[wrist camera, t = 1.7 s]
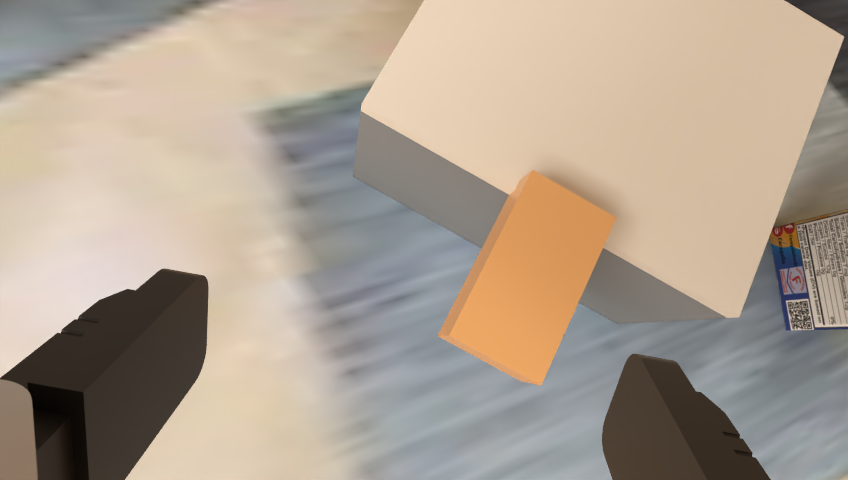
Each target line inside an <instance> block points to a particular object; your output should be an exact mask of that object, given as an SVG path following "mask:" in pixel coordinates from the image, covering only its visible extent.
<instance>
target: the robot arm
mask: <svg viewBox="0 0 848 480" xmlns="http://www.w3.org/2000/svg"><path fill="white" fill-rule="evenodd" d="M207 316H208V281H207V279H206V277H205V276H203V275H198V274H192V273H186V272H181V271H175V270H170V269H161V270H160V271H158V272H157V273H156V274H155V275H153V276H152V277H151V278H150V279H149V280H148V281H146V282H145V283H144V284H143V285H142V286H140V287H139V288H138V289H137V290H136V291H135V290H130V289H126V290H124V291H121V292H119V293H116V294H114V295H111V296H109V297H106V298H104V299H101V300H99V301H98V302H96V303H95V304H94V305H92V306H91V307H90V308H89V309H87V310H86V311H85V312H84V313H82V314H81V315H80V316H79V318H78V320H73V321H72V322H71V323H70V324H68V325H67V326H66V327H64V328H63V329H62V332H61V334H60V333H57V334H56V335H54V336H53V337H52V338H50V339H49V340H48V341H47V342H45V343H44V344H43V345H42V346H40V347H39V348H38V349H37V350H35V351H34V352H33V353H31V354H30V355H29V356H28V357H26V358H25V359H24V360H23V361H21V362H20V363H19V364H17V365H16V366H15V367H14V368H12V369H11V370H10V371H9V372H7V373H6V374H5V375H3V376H2V377H1V378H0V480H125V479H126V477H127V476H128V474H129V473H130V472H131V470H132V469H133V467H134V466H135V465H136V463H137V462H138V461H139V459H140V458H141V456H142V455H143V454H144V452H145V451H146V449H147V448H148V447H149V445H150V444H151V442H152V441H153V440H154V438H155V437H156V436H157V434H158V433H159V431H160V430H161V429H162V427H163V426H164V424H165V423H166V422H167V420H168V419H169V417H170V416H171V415H172V413H173V412H174V411H175V409H176V408H177V406H178V405H179V404H180V402H181V401H182V399H183V398H184V397H185V395H186V394H187V392H188V391H189V390H190V388H191V387H192V385H193V384H194V383H195V381H196V380H197V378H198V376H199V374H200V372H201V369H202V366H203V363H204V359H205V355H206V346H207ZM739 436H740V434H739V433H738V431H737V430H736V428H735V427H734V425H733V424H732V423H731V421H730V420H729V418H728V417H727V415H726V414H725V413H724V412H723V411H722V410H721V409H720V408H719V407H717V406H716V405H715V404H714V403H713V402H712V401H711V400H709V399H708V398H707V397H706V396H705V395H704V394H702V393H701V392H696V391H695V389H694V388H693V386H692V385H691V383H690V382H689V380H688V379H687V377H686V375H685V374H684V372H683V371H682V369H681V368H680V366H679V365H678V363H677V362H675V361H673V360H667V359H662V358H656V357H651V356H645V355H639V354H632V355H631V356H630V357H629V358H628V359H627V361H626V363H625V365H624V368H623V371H622V374H621V376H620V379H619V382H618V385H617V387H616V390H615V393H614V396H613V398H612V401H611V404H610V407H609V409H608V412H607V415H606V418H605V421H604V425H603V433H602V445H603V452H604V456H605V459H606V461H607V464H608V467H609V470H610V473H611V476H612V479H613V480H771V479H770V478H769V477H768V475H767V474H766V472H765V471H764V469H763V468H762V466H761V465H760V463H759V462H758V460H757V459H756V458H754V457H752V452H751V450H750V449H749V447H748V446H747V444H746V443H745V442H744V440H743V439H740V438H739Z"/></svg>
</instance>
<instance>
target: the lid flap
mask: <svg viewBox="0 0 848 480" xmlns="http://www.w3.org/2000/svg"><path fill="white" fill-rule="evenodd" d="M843 39H844V36H842V35H840V34H839V33H837V32H836V31H834V30H832V29H831V28H829V27H827V26H826V25H824V24H822V23H821V22H819V21H817V20H816V19H814V18H812V17H811V16H809V15H807V14H806V13H804V12H803V11H801V10H799V9H798V8H796V7H794V6H793V5H791V4H789V3H788V2H786V1H784V0H424V2H423V3H422V5H421V7H420V8H419V10H418V12H417V13H416V15H415V17H414V18H413V20H412V21H411V23H410V25H409V26H408V28H407V30H406V31H405V33H404V35H403V36H402V38H401V40H400V41H399V43H398V45H397V46H396V48H395V50H394V51H393V53H392V55H391V56H390V58H389V59H388V61H387V63H386V64H385V66H384V68H383V69H382V71H381V73H380V74H379V76H378V78H377V79H376V81H375V83H374V84H373V86H372V88H371V89H370V91H369V93H368V94H367V96H366V97H365V99H364V101H363V102H362V106H361V111H362V112H363V113H365V114H367V115H369V116H370V117H372V118H374V119H376V120H377V121H379V122H381V123H383V124H385V125H386V126H388V127H390V128H392V129H393V130H395V131H397V132H399V133H400V134H402V135H404V136H406V137H408V138H409V139H411V140H413V141H415V142H416V143H418V144H420V145H422V146H423V147H425V148H427V149H429V150H431V151H432V152H434V153H436V154H438V155H439V156H441V157H443V158H445V159H446V160H448V161H450V162H452V163H454V164H455V165H457V166H459V167H461V168H462V169H464V170H466V171H468V172H470V173H471V174H473V175H475V176H477V177H478V178H480V179H482V180H484V181H485V182H487V183H489V184H491V185H493V186H494V187H496V188H498V189H500V190H501V191H503V192H505V193H507V194H508V195H509V196H508V198H507V200H506V202H505V204H504V206H503V208H502V210H501V212H500V214H499V216H498V218H497V220H496V222H495V224H494V226H493V227H492V229H491V231H490V233H489V235H488V237H487V239H486V241H485V243H484V245H483V247H482V249H481V251H480V253H479V255H478V257H477V259H476V261H475V263H474V265H473V267H472V269H471V271H470V273H469V275H468V277H467V279H466V281H465V283H464V285H463V287H462V289H461V291H460V292H459V294H458V296H457V298H456V300H455V302H454V304H453V306H452V308H451V310H450V312H449V314H448V316H447V318H446V320H445V322H444V324H443V326H442V328H441V330H440V332H439V334H438V336H439V337H440V338H442V339H444V340H446V341H448V342H450V343H451V344H453V345H455V346H457V347H459V348H461V349H462V350H464V351H466V352H468V353H470V354H472V355H474V356H475V357H477V358H479V359H481V360H483V361H485V362H486V363H488V364H490V365H492V366H494V367H496V368H497V369H499V370H501V371H503V372H505V373H507V374H508V375H510V376H512V377H514V378H516V379H518V380H519V381H523V382H527V383H532V384H536V385H541V384H542V382H543V380H544V378H545V375H546V373H547V371H548V369H549V367H550V364H551V362H552V360H553V358H554V355H555V353H556V351H557V349H558V347H559V344H560V342H561V340H562V338H563V336H564V333H565V331H566V329H567V327H568V324H569V322H570V320H571V318H572V316H573V313H574V311H575V309H576V307H577V304H578V302H579V300H580V298H581V296H582V293H583V291H584V289H585V287H586V285H587V282H588V280H589V278H590V276H591V273H592V271H593V269H594V267H595V265H596V262H597V260H598V258H599V256H600V253H601V251H602V249H603V248H604V249H606V250H608V251H609V252H611V253H613V254H615V255H616V256H618V257H620V258H622V259H624V260H625V261H627V262H629V263H631V264H632V265H634V266H636V267H638V268H639V269H641V270H643V271H645V272H647V273H648V274H650V275H652V276H654V277H655V278H657V279H659V280H661V281H663V282H664V283H666V284H668V285H670V286H671V287H673V288H675V289H677V290H678V291H680V292H682V293H684V294H686V295H687V296H689V297H691V298H693V299H694V300H696V301H698V302H700V303H701V304H703V305H705V306H707V307H709V308H710V309H712V310H714V311H716V312H717V313H719V314H721V315H723V316H724V317H726V318H733V317H739V316H740V314H741V311H742V308H743V306H744V303H745V300H746V298H747V295H748V292H749V290H750V287H751V284H752V282H753V279H754V276H755V274H756V271H757V268H758V266H759V263H760V260H761V258H762V255H763V252H764V250H765V247H766V244H767V242H768V239H769V236H770V234H771V231H772V228H773V226H774V223H775V220H776V218H777V215H778V212H779V210H780V207H781V204H782V202H783V199H784V196H785V194H786V191H787V188H788V186H789V183H790V180H791V178H792V175H793V172H794V170H795V167H796V164H797V162H798V159H799V156H800V154H801V151H802V148H803V146H804V143H805V140H806V138H807V135H808V132H809V130H810V127H811V124H812V122H813V119H814V116H815V114H816V111H817V108H818V106H819V103H820V100H821V98H822V95H823V92H824V90H825V87H826V84H827V82H828V79H829V76H830V74H831V71H832V68H833V66H834V63H835V60H836V57H837V55H838V52H839V49H840V47H841V44H842V41H843Z"/></svg>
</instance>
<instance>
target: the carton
mask: <svg viewBox="0 0 848 480" xmlns="http://www.w3.org/2000/svg"><path fill="white" fill-rule="evenodd" d="M353 177H355V178H357V179H359V180H360V181H362V182H364V183H366V184H367V185H369V186H371V187H373V188H375V189H376V190H378V191H380V192H382V193H384V194H385V195H387V196H389V197H391V198H393V199H394V200H396V201H398V202H400V203H402V204H403V205H405V206H407V207H409V208H411V209H412V210H414V211H416V212H418V213H420V214H421V215H423V216H425V217H427V218H429V219H430V220H432V221H434V222H436V223H438V224H439V225H441V226H443V227H445V228H447V229H448V230H450V231H452V232H454V233H455V234H457V235H459V236H461V237H463V238H464V239H466V240H468V241H470V242H472V243H473V244H475V245H477V246H479V247H481V248H482V247H483V245H484V243H485V241H486V239H487V237H488V235H489V233H490V231H491V229H492V227H493V226H494V224H495V222H496V220H497V218H498V216H499V214H500V212H501V210H502V208H503V206H504V204H505V202H506V200H507V198H508V196H509V195H508V194H507V193H505V192H503V191H501V190H500V189H498V188H496V187H494V186H493V185H491V184H489V183H487V182H485V181H484V180H482V179H480V178H478V177H477V176H475V175H473V174H471V173H470V172H468V171H466V170H464V169H462V168H461V167H459V166H457V165H455V164H454V163H452V162H450V161H448V160H446V159H445V158H443V157H441V156H439V155H438V154H436V153H434V152H432V151H431V150H429V149H427V148H425V147H423V146H422V145H420V144H418V143H416V142H415V141H413V140H411V139H409V138H408V137H406V136H404V135H402V134H400V133H399V132H397V131H395V130H393V129H392V128H390V127H388V126H386V125H385V124H383V123H381V122H379V121H377V120H376V119H374V118H372V117H370V116H369V115H367V114H365V113H363V112H362V111H361V114H360V122H359V130H358V138H357V146H356V154H355V163H354V171H353ZM579 303H581V304H583V305H585V306H587V307H588V308H590V309H592V310H594V311H596V312H597V313H599V314H601V315H603V316H605V317H606V318H608V319H610V320H612V321H614V322H615V323H617V324H623V323H641V322H659V321H678V320H696V319H715V318H726V317H724V316H723V315H721V314H719V313H717V312H716V311H714V310H712V309H710V308H709V307H707V306H705V305H703V304H701V303H700V302H698V301H696V300H694V299H693V298H691V297H689V296H687V295H686V294H684V293H682V292H680V291H678V290H677V289H675V288H673V287H671V286H670V285H668V284H666V283H664V282H663V281H661V280H659V279H657V278H655V277H654V276H652V275H650V274H648V273H647V272H645V271H643V270H641V269H639V268H638V267H636V266H634V265H632V264H631V263H629V262H627V261H625V260H624V259H622V258H620V257H618V256H616V255H615V254H613V253H611V252H609V251H608V250H606V249H604V248H603V249H602V251H601V253H600V256H599V258H598V260H597V262H596V265H595V267H594V269H593V271H592V273H591V276H590V278H589V280H588V282H587V285H586V287H585V289H584V291H583V293H582V296H581V298H580V300H579Z"/></svg>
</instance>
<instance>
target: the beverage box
mask: <svg viewBox="0 0 848 480" xmlns="http://www.w3.org/2000/svg"><path fill="white" fill-rule="evenodd" d="M769 237H770V242H771V248H772V254H773V260H774V265H775V271H776V277H777V282H778V288H779V294H780V299H781V305H782V311H783V316H784V322H785V328H786V330H828V329H848V209H846V210H842V211H839V212H835V213H831V214H827V215H823V216H819V217H815V218H811V219H807V220H803V221H799V222H795V223H791V224H787V225H783V226H779V227H775V228H772V231H771V234H770V236H769Z"/></svg>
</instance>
